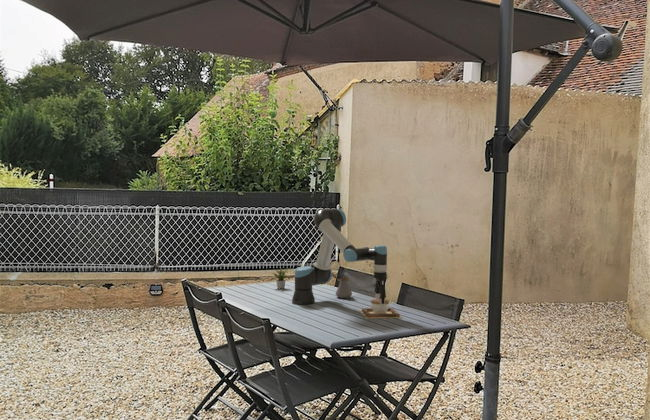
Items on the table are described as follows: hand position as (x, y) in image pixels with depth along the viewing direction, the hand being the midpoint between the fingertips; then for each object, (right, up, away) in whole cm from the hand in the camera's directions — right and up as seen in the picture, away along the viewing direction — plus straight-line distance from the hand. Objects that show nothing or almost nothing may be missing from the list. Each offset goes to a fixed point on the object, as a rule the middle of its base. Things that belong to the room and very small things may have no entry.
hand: (380, 306), depth 347 cm
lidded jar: (0, -4, 0) cm, 4 cm away
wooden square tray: (0, -5, 0) cm, 5 cm away
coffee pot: (-23, -3, +58) cm, 62 cm away
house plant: (-66, -1, +91) cm, 112 cm away
